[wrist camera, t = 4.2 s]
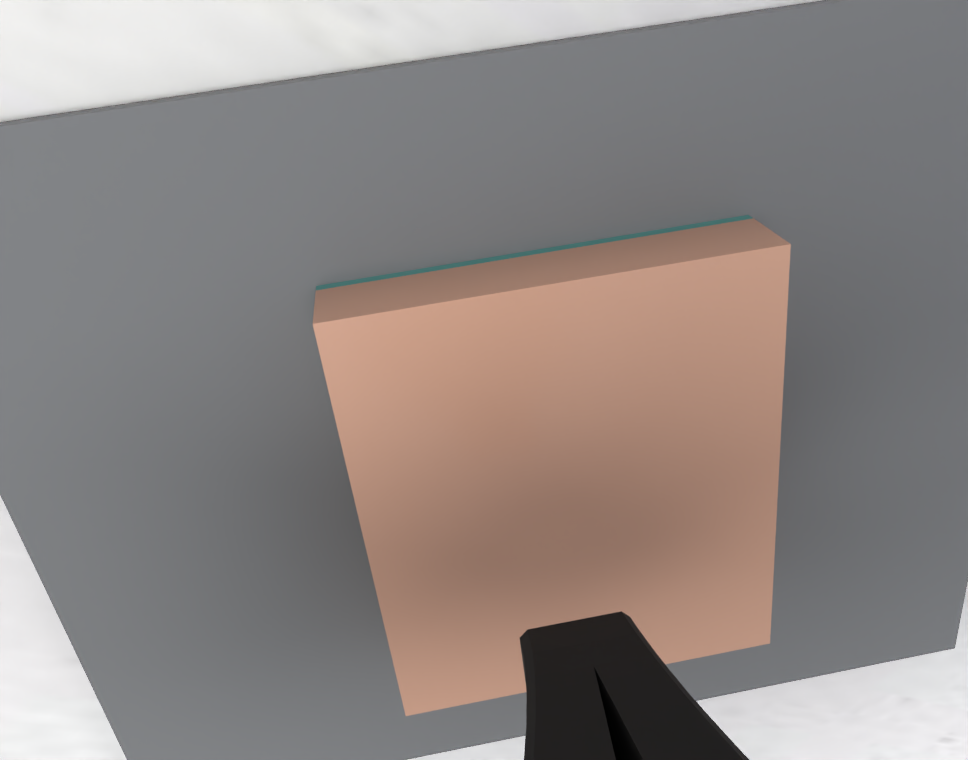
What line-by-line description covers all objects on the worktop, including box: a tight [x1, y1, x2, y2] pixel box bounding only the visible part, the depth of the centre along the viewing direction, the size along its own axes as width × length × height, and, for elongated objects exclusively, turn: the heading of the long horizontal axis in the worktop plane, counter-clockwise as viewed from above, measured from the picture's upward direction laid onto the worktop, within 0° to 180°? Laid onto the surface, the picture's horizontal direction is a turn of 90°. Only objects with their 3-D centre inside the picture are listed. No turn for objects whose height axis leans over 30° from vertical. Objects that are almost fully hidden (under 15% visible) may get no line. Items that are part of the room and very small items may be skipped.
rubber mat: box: [0, 0, 968, 760], centre depth 16 cm, size 18×14×1 cm
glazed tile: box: [313, 215, 791, 716], centre depth 15 cm, size 2×8×7 cm
